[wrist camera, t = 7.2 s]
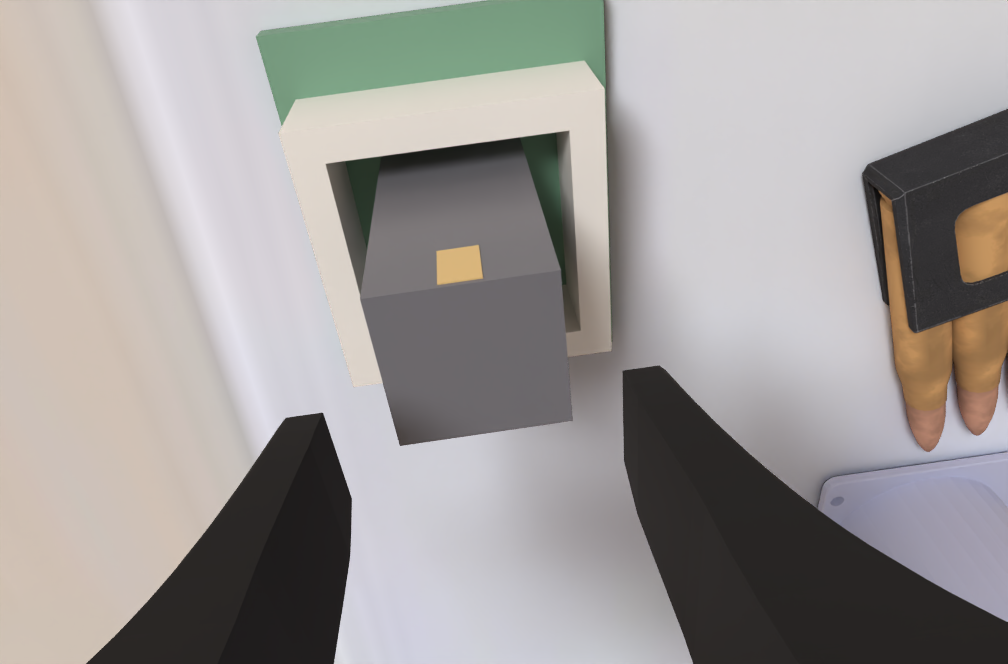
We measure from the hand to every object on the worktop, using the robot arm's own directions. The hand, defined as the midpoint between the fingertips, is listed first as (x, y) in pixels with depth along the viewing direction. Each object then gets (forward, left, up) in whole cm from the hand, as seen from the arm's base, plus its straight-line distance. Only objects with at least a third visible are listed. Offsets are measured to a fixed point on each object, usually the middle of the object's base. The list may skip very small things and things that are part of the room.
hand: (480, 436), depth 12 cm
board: (0, 0, -9) cm, 9 cm away
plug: (0, 0, -9) cm, 9 cm away
